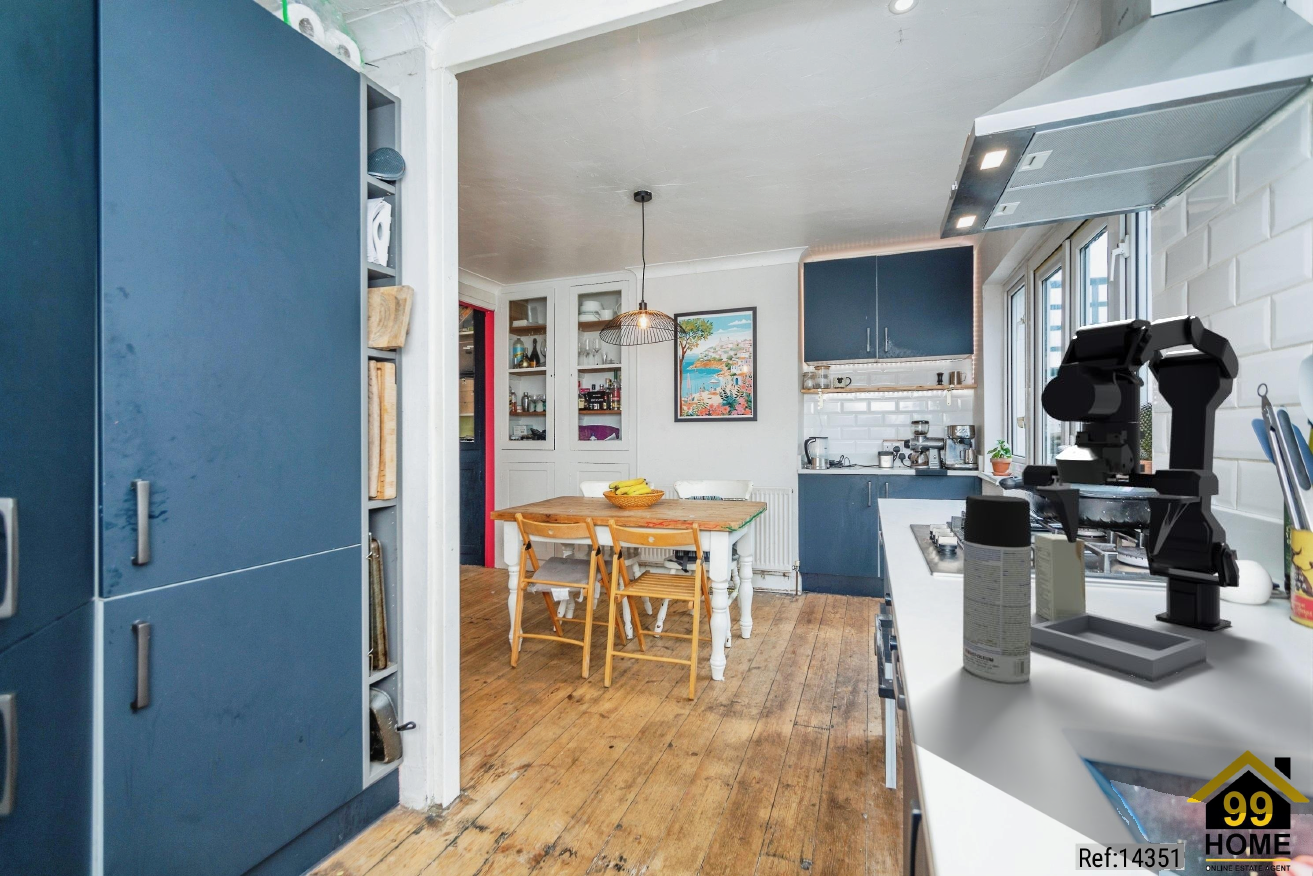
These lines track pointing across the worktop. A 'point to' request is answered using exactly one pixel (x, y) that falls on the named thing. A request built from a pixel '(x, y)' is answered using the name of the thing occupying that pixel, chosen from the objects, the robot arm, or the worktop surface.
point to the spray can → (997, 588)
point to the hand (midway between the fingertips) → (1110, 548)
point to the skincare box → (1059, 576)
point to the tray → (1119, 645)
